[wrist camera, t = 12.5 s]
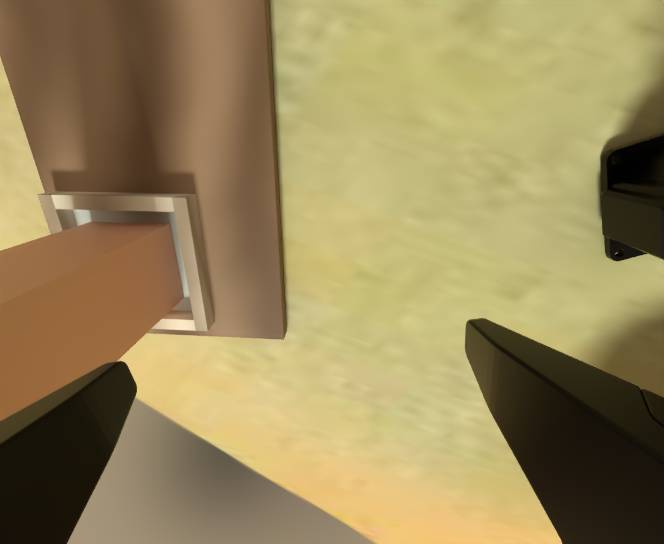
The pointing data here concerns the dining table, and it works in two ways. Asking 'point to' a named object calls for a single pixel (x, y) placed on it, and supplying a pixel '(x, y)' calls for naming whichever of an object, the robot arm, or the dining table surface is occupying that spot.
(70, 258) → the pillar
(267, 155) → the baseboard
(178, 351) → the dining table surface
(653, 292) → the dining table surface
